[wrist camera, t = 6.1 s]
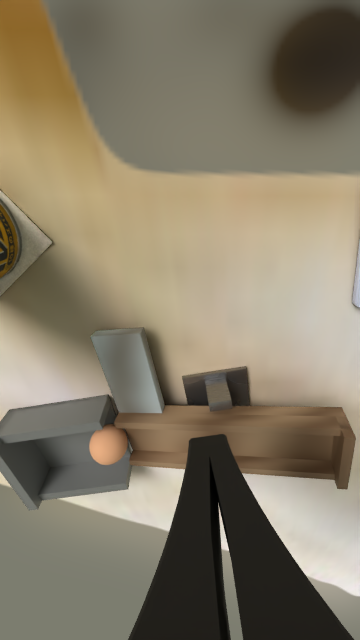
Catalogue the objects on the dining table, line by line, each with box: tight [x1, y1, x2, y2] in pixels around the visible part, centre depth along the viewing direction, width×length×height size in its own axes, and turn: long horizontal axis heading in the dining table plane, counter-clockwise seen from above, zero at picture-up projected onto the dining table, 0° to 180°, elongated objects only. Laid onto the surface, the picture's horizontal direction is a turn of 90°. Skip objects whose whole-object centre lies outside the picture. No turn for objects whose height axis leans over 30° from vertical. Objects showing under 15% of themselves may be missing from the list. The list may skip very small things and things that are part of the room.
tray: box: [0, 395, 132, 510], centre depth 22 cm, size 8×8×4 cm
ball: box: [89, 424, 128, 465], centre depth 21 cm, size 3×3×3 cm
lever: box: [91, 328, 356, 489], centre depth 18 cm, size 16×12×2 cm
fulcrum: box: [182, 366, 250, 412], centre depth 21 cm, size 5×8×3 cm, turn 10°
